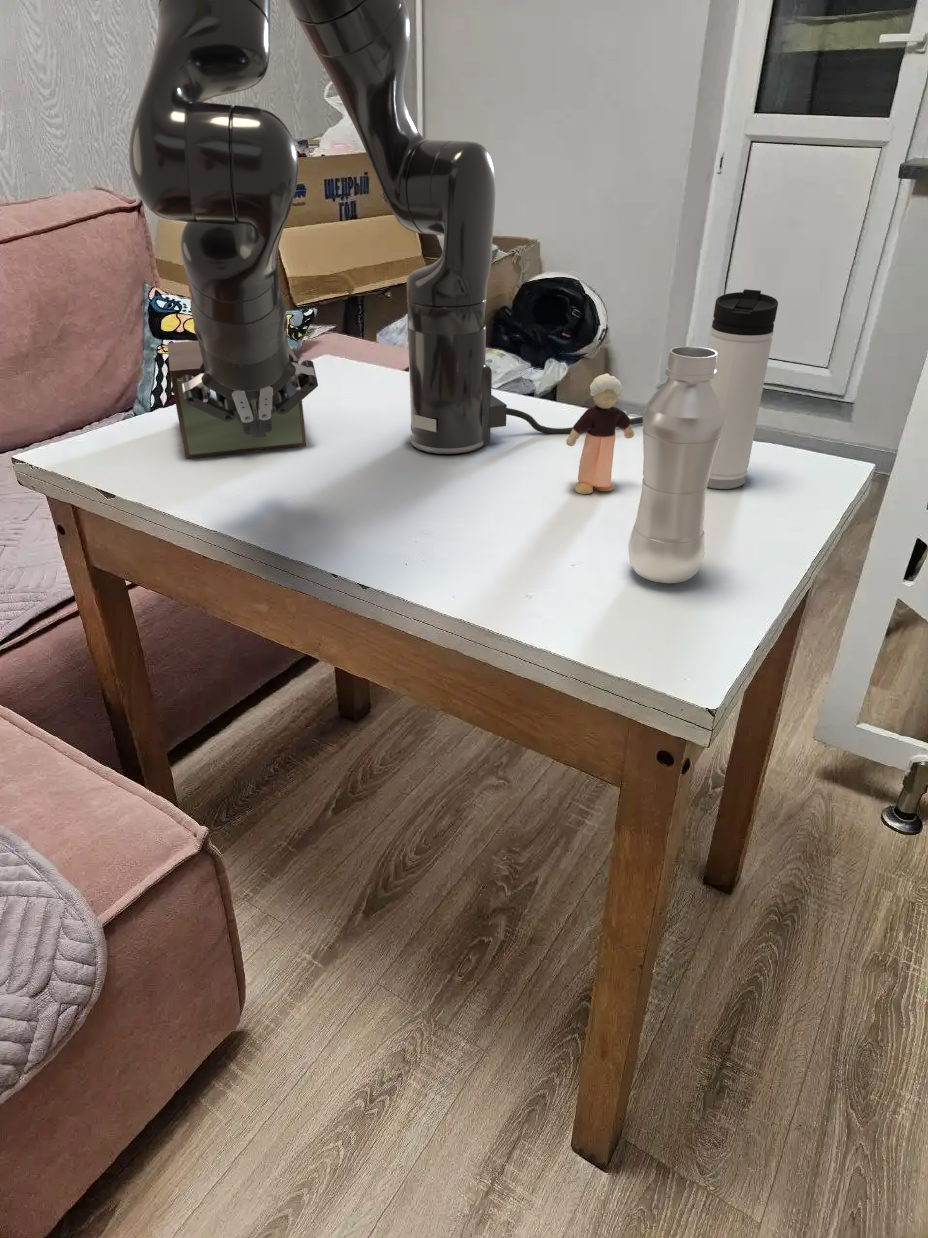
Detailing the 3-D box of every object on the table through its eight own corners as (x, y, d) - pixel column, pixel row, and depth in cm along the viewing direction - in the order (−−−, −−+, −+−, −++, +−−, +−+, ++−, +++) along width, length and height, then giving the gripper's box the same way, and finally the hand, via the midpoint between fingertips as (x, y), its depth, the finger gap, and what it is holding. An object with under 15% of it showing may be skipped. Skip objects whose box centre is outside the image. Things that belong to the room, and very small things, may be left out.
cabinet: (306, 446, 106) (298, 360, 100) (185, 458, 102) (169, 370, 96) (291, 413, 117) (282, 334, 111) (181, 423, 113) (167, 342, 107)
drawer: (304, 446, 103) (296, 373, 98) (190, 458, 99) (177, 383, 95) (288, 412, 114) (281, 345, 109) (185, 422, 111) (173, 353, 106)
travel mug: (749, 473, 98) (784, 291, 88) (740, 493, 93) (775, 303, 82) (695, 464, 100) (723, 286, 90) (683, 484, 95) (710, 297, 85)
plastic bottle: (701, 596, 74) (741, 364, 63) (623, 588, 75) (649, 359, 64) (699, 562, 79) (735, 344, 69) (625, 555, 80) (651, 340, 70)
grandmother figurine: (578, 500, 91) (587, 383, 85) (559, 487, 94) (566, 373, 88) (635, 487, 94) (649, 373, 88) (615, 475, 97) (626, 364, 91)
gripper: (311, 279, 73) (314, 391, 90) (153, 295, 70) (186, 407, 87) (328, 352, 71) (328, 453, 88) (166, 371, 68) (197, 472, 85)
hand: (257, 430), depth 87 cm, fingers closed
